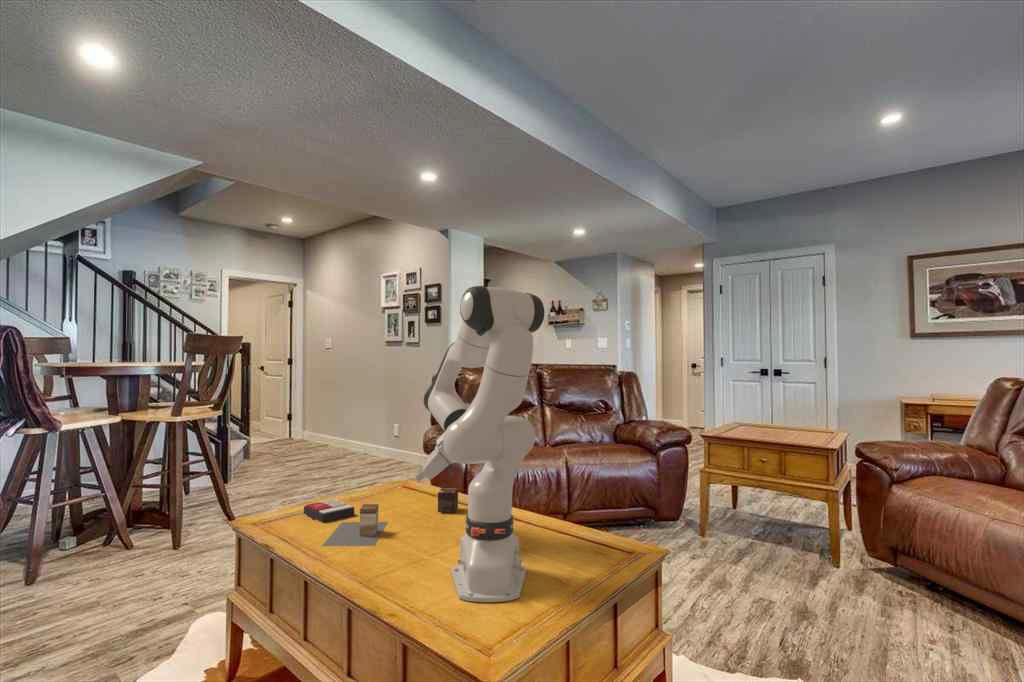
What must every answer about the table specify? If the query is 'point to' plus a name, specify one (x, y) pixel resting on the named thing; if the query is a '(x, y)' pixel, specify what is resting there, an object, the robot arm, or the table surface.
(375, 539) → the mat
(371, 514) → the block
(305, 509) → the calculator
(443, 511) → the box
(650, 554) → the table surface
